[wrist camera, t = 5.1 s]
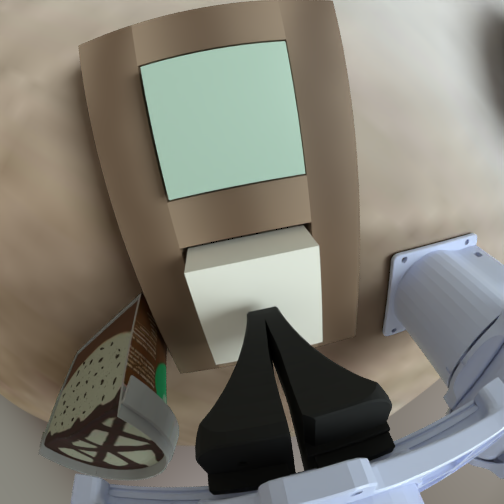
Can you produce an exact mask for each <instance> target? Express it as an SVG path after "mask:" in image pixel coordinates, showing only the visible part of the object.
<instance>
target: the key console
mask: <svg viewBox="0 0 504 504" xmlns="http://www.w3.org/2000/svg"><path fill="white" fill-rule="evenodd" d="M280 41H285V42H286V48H287V53H288V58H289V64H290V70H291V75H292V81H293V87H294V93H295V100H296V106H297V113H298V120H299V127H300V134H301V142H302V149H303V157H304V166H305V174H300V175H294V176H288V177H282V178H276V179H270V180H265V181H259V182H254V183H248V184H243V185H238V186H233V187H228V188H223V189H218V190H213V191H208V192H204V193H199V194H194V195H190V196H186V197H181V198H177V199H173V200H169V198H168V194H167V190H166V186H165V182H164V178H163V174H162V170H161V166H160V162H159V157H158V153H157V149H156V144H155V140H154V135H153V130H152V126H151V121H150V116H149V111H148V106H147V101H146V96H145V90H144V85H143V79H142V74H141V68H140V67H142V66H145V65H149V64H152V63H156V62H159V61H163V60H167V59H171V58H175V57H179V56H184V55H188V54H193V53H198V52H203V51H208V50H213V49H219V48H226V47H232V46H239V45H247V44H256V43H267V42H280ZM78 47H79V56H80V64H81V71H82V78H83V84H84V91H85V96H86V102H87V107H88V113H89V118H90V122H91V127H92V132H93V136H94V141H95V145H96V149H97V153H98V157H99V161H100V165H101V169H102V173H103V176H104V180H105V183H106V187H107V190H108V194H109V197H110V201H111V204H112V207H113V210H114V213H115V217H116V220H117V223H118V226H119V229H120V232H121V235H122V238H123V241H124V243H125V246H126V249H127V252H128V255H129V257H130V260H131V263H132V265H133V268H134V271H135V273H136V276H137V278H138V281H139V283H140V286H141V288H142V291H143V293H144V296H145V298H146V300H147V303H148V305H149V308H150V310H151V312H152V315H153V317H154V319H155V321H156V324H157V326H158V328H159V330H160V332H161V335H162V337H163V339H164V341H165V343H166V345H167V347H168V349H169V351H170V353H171V356H172V358H173V360H174V362H175V364H176V366H177V368H178V370H179V372H180V373H188V372H195V371H202V370H208V369H215V368H221V367H227V366H232V365H236V364H237V361H235V362H229V363H224V364H218V365H216V363H215V361H214V358H213V355H212V353H211V350H210V347H209V345H208V342H207V339H206V336H205V334H204V331H203V328H202V325H201V322H200V319H199V317H198V314H197V311H196V308H195V305H194V302H193V299H192V296H191V293H190V290H189V287H188V284H187V280H186V277H185V274H184V271H185V264H186V258H187V251H188V248H191V247H190V246H194V245H199V244H204V243H209V242H214V241H219V240H223V239H228V238H233V237H238V236H243V235H248V234H253V233H258V232H263V231H268V230H273V229H278V228H283V227H289V226H294V225H298V226H301V225H304V227H305V228H306V229H307V230H308V232H309V233H310V234H311V236H312V237H313V238H314V240H315V241H316V242H317V243H318V245H319V252H320V270H321V293H322V334H323V342H320V343H317V344H313V345H311V346H312V347H314V348H315V347H319V346H322V345H326V344H330V343H334V342H337V341H341V340H344V339H348V338H351V337H354V336H355V335H356V323H357V309H358V292H359V265H360V209H359V182H358V165H357V151H356V139H355V128H354V119H353V110H352V102H351V95H350V87H349V81H348V74H347V68H346V62H345V56H344V51H343V46H342V40H341V35H340V31H339V26H338V21H337V17H336V13H335V9H334V4H333V1H329V0H262V1H249V2H239V3H230V4H222V5H216V6H209V7H203V8H198V9H193V10H188V11H183V12H178V13H174V14H170V15H166V16H162V17H158V18H154V19H151V20H147V21H144V22H140V23H137V24H134V25H131V26H128V27H125V28H122V29H119V30H116V31H113V32H111V33H108V34H105V35H103V36H100V37H98V38H95V39H93V40H90V41H88V42H86V43H83V44H81V45H79V46H78Z"/></svg>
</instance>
